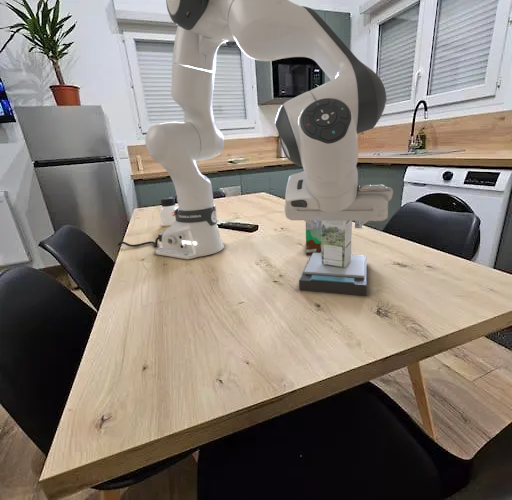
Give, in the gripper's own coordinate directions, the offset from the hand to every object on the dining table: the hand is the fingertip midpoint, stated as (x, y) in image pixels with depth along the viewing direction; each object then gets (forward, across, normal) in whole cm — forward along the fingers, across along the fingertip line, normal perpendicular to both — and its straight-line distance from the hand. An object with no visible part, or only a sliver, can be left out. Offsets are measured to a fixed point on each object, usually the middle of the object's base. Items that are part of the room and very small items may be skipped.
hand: (336, 225), depth 66 cm
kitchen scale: (+10, 0, +8) cm, 13 cm away
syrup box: (+9, 0, +6) cm, 10 cm away
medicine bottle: (+42, +78, -24) cm, 92 cm away
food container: (+24, +7, -5) cm, 25 cm away
